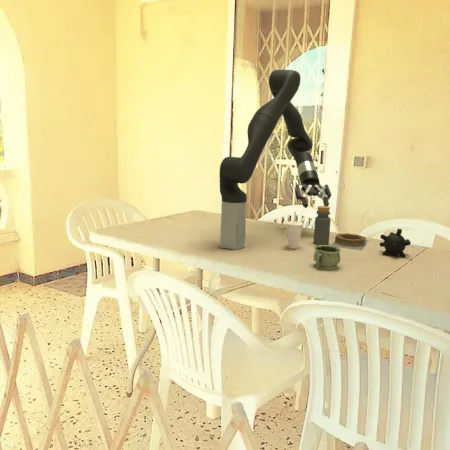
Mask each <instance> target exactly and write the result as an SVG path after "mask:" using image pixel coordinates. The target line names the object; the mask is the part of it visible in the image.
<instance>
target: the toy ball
mask: <svg viewBox="0 0 450 450" xmlns="http://www.w3.org/2000/svg"><path fill="white" fill-rule="evenodd" d="M402 232H403V230H402V229H401V228H397V231H396V232H395V233H394V232H390V233H389V234H388V235H385V234H384V233H383V234H380V239H381V240H383V241H382V242H381V241H380V242H379V246H380V247H381V248H384V249H385V250H384V251H383V252H382V256H384V257H386V256H388V255H389V254H390V255H399V256H400V257H401V258H403V259H404V258H406V254H405V253H404V250H405V249H406V247H407V246H410V245H411V243H412V242H411V241H410V239H405V237H404V236H403V235H402Z"/></svg>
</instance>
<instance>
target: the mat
mask: <svg viewBox="0 0 450 450" xmlns="http://www.w3.org/2000/svg"><path fill="white" fill-rule="evenodd" d="M368 242H369V240H368V239H366V240H365V245H364V246H359V247H350V246H343V245H340V244H337V243H335V240H334V241H333V243H332V244H330V245H331V246H336V247H338V248H340V249H349V250H358V251H363V250H364V249H365V247H366V245H367V244H368Z"/></svg>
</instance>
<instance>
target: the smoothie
mask: <svg viewBox="0 0 450 450" xmlns="http://www.w3.org/2000/svg"><path fill="white" fill-rule="evenodd" d="M296 217H297V215H296V211H293V221H287V222H285V226H286V232H287V234H286V235H287V248H288V249H291V250H294V251H295V250H296V249H297V250H298V249H299V247H300V242H301V237H302V231H303V227H304V223H303V222H301V221H296Z"/></svg>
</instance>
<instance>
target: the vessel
mask: <svg viewBox="0 0 450 450" xmlns="http://www.w3.org/2000/svg"><path fill="white" fill-rule="evenodd" d="M331 245H332V244H330V245H315V246H314V250H315V251H314V254H313V261H314V262H315V264H314V267H316V268H318V269H321V270H327V271H328V270H329V271H333V270H337V269H338V268H339V265H338V264H340V263H341V254H340V253H341V251H342V248H340V247H336V246H331Z"/></svg>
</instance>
